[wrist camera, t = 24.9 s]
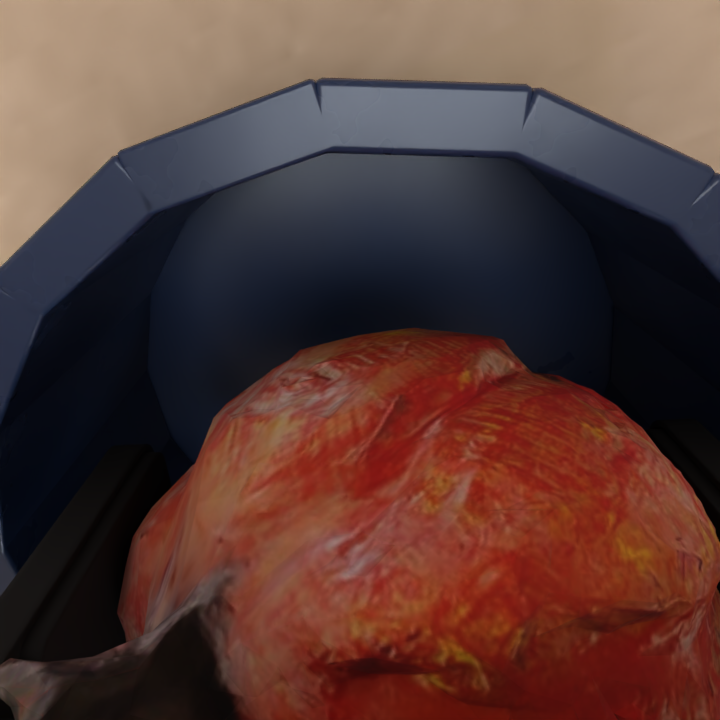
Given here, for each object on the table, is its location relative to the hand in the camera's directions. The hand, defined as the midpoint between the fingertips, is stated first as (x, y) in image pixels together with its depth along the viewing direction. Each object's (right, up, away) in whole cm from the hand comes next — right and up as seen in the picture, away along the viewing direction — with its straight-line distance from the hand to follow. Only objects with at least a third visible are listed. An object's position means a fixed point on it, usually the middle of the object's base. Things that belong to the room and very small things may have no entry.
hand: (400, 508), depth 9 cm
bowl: (0, +2, +5) cm, 5 cm away
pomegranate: (0, +1, +2) cm, 2 cm away
